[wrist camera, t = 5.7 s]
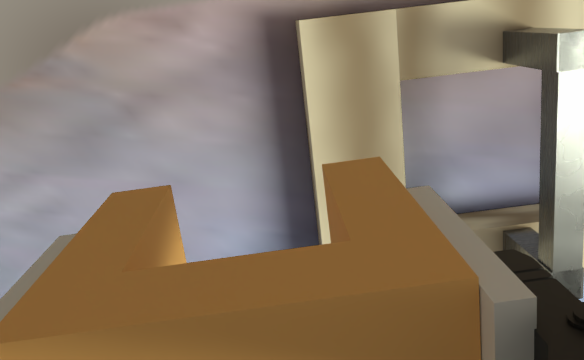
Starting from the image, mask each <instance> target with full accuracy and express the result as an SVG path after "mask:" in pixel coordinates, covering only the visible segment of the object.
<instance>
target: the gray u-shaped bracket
mask: <svg viewBox="0 0 584 360" xmlns="http://www.w3.org/2000/svg"><path fill="white" fill-rule="evenodd" d="M503 63H506V64H511V65H517V66H523V67H528V68H534V69H540V70H542V92H541V142H540V192H539V233H537V232H536V231H535V230H533V229H532V228H531V227H529V228H521V229H513V230H505V231H503V250H509V249H514V250H517V251H519V252H521V253H524V254H526V255H528V256H531V257H532V258H533V259H535V260H536V261H537V262H538V263H539V264H540V265H541V266H542V267H543V268H544V270H547V271H548V272H549V273H550V274H551V275H552V276H553V278H554V279H555V278H556V279H557V280H558V281H559V282H560V283H561V284H562V285H563V286H564V287H566V288H567V289H568V290H569V291H570V292H571V293H572V294H573V295H574V296H576V297H577V298H578V299H581V298H583V280H584V268H583V267H582V262H583V240H584V29H568V28H525V29H517V30H509V31H503Z"/></svg>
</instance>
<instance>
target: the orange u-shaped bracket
mask: <svg viewBox="0 0 584 360" xmlns="http://www.w3.org/2000/svg"><path fill="white" fill-rule="evenodd" d="M322 171H323V179H324V188H325V197H326V205H327V214H328V222H329V231H330V240H331V243H329V244H322V245H315V246H307V247H300V248H293V249H286V250H278V251H271V252H264V253H257V254H249V255H242V256H235V257H227V258H220V259H213V260H206V261H198V262H191V263H186V258H185V253H184V248H183V243H182V239H181V234H180V229H179V224H178V219H177V214H176V209H175V204H174V199H173V194H172V189H171V185H167V186H159V187H152V188H145V189H137V190H130V191H123V192H115V193H112V194H111V195H110V196H109V197H108V198H107V200H106V201H105V202H104V203H103V204H102V205H101V206H100V208H99V209H98V210H97V211H96V212H95V213H94V215H93V216H92V217H91V218H90V219H89V220H88V221H87V223H86V224H85V225H84V226H83V227H82V228H81V230H80V231H79V232H78V233H77V234H76V235H75V236H74V238H73V239H72V240H71V241H70V242H69V243H68V244H67V246H66V247H65V248H64V249H63V250H62V251H61V253H60V254H59V255H58V256H57V257H56V258H55V259H54V261H53V262H52V263H51V264H50V265H49V266H48V267H47V269H46V270H45V271H44V272H43V273H42V274H41V276H40V277H39V278H38V279H37V280H36V281H35V282H34V284H33V285H32V286H31V287H30V288H29V289H28V291H27V292H26V293H25V294H24V295H23V296H22V297H21V299H20V300H19V301H18V302H17V303H16V304H15V305H14V307H13V308H12V309H11V310H10V311H9V312H8V314H7V315H6V316H5V317H4V318H3V319H2V320H1V322H0V360H481V340H480V306H479V277H478V276H477V275H476V273H475V272H474V271H473V270H472V269H471V267H470V266H469V265H468V264H467V262H466V261H465V260H464V259H463V258H462V256H461V255H460V254H459V253H458V251H457V250H456V249H455V248H454V247H453V245H452V244H451V243H450V242H449V240H448V239H447V238H446V237H445V236H444V234H443V233H442V232H441V231H440V230H439V228H438V227H437V226H436V225H435V223H434V222H433V221H432V220H431V219H430V217H429V216H428V215H427V214H426V212H425V211H424V210H423V209H422V208H421V206H420V205H419V204H418V203H417V201H416V200H415V199H414V198H413V197H412V195H411V194H410V193H409V192H408V190H407V189H406V188H405V187H404V186H403V184H402V183H401V182H400V181H399V179H398V178H397V177H396V176H395V175H394V173H393V172H392V171H391V170H390V168H389V167H388V166H387V165H386V164H385V162H384V161H383V160H382V159H381V157H372V158H365V159H358V160H350V161H343V162H336V163H328V164H322Z"/></svg>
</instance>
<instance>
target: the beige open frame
mask: <svg viewBox="0 0 584 360" xmlns="http://www.w3.org/2000/svg"><path fill="white" fill-rule="evenodd" d="M295 21H296V31H297V40H298V50H299V59H300V68H301V78H302V87H303V97H304V106H305V115H306V125H307V134H308V144H309V153H310V162H311V172H312V181H313V191H314V200H315V209H316V219H317V228H318V238H319V245H322V244H329V243H331V240H330V231H329V222H328V214H327V205H326V197H325V188H324V179H323V171H322V164H328V163H336V162H343V161H350V160H358V159H365V158H372V157H381V159H382V160H383V161H384V162H385V164H386V165H387V166H388V167H389V168H390V170H391V171H392V172H393V173H394V175H395V176H396V177H397V178H398V179H399V181H400V182H401V183H402V184H403V186H404V187H405V188H406V184H405V166H404V148H403V129H402V111H401V93H400V81H401V80H409V79H417V78H426V77H434V76H442V75H450V74H459V73H467V72H475V71H483V70H492V69H500V68H508V67H516V66H517V65H511V64H506V63H503V31H509V30H517V29H525V28H568V29H584V0H465V1H457V2H448V3H440V4H431V5H423V6H414V7H406V8H397V9H389V10H380V11H372V12H363V13H355V14H346V15H338V16H329V17H321V18H312V19H304V20H295ZM457 215H458V216H459V217H460V218H461V219H462V220H463V221H464V222H465V223H466V224H467V225H468V226H469V228H470V229H471V230H472V231H473V232H474V233H475V234H476V235H477V236H478V237H479V238H480V239H481V240H482V241H483V242H484V243H485V244H486V245H487V246H488V247H489V248H490V249H491V250H492V251H493V252H495V251H502V250H503V231H505V230H513V229H521V228H529V227H531V228H532V229H533V230H535V231H536V232H537V233H539V204H533V205H525V206H517V207H509V208H501V209H493V210H486V211H478V212H470V213H462V214H457ZM582 267H583V268H584V240H583V262H582Z"/></svg>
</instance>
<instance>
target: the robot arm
mask: <svg viewBox="0 0 584 360" xmlns="http://www.w3.org/2000/svg"><path fill="white" fill-rule="evenodd" d="M407 190H408V192H409V193H410V194H411V195H412V197H413V198H414V199H415V200H416V201H417V203H418V204H419V205H420V206H421V208H422V209H423V210H424V211H425V212H426V214H427V215H428V216H429V217H430V219H431V220H432V221H433V222H434V223H435V225H436V226H437V227H438V228H439V230H440V231H441V232H442V233H443V234H444V236H445V237H446V238H447V239H448V240H449V242H450V243H451V244H452V245H453V247H454V248H455V249H456V250H457V251H458V253H459V254H460V255H461V256H462V258H463V259H464V260H465V261H466V262H467V264H468V265H469V266H470V267H471V269H472V270H473V271H474V272H475V273H476V275H477V276H478V277H479V306H480V340H481V360H584V302H581V301H580V300H579V299H578V298H577V297H576V296H574V295H573V294H572V293H571V292H570V291H569V290H568V289H567V288H566V287H564V286H563V285H562V284H561V283H560V282H559V281H558V280H557V279H556V278H555V279H554V278H553V276H552V275H551V274H550V273H549V272H548V271H547V270H544V268H543V267H542V266H541V265H540V264H539V263H538V262H537V261H536V260H535V259H533V258H532V257H531V256H528V255H526V254H524V253H521V252H519V251H517V250H514V249H509V250H502V251H495V252H493V251H492V250H491V249H490V248H489V247H488V246H487V245H486V244H485V243H484V242H483V241H482V240H481V239H480V238H479V237H478V236H477V235H476V234H475V233H474V232H473V231H472V230H471V229H470V228H469V226H468V225H467V224H466V223H465V222H464V221H463V220H462V219H461V218H460V217H459V216H458V215H457V214H456V213H455V212H454V211H453V210H452V209H451V208H450V207H449V206H448V205H447V204H446V203H445V202H444V201H443V200H442V199H441V197H440V196H439V195H438V194H437V193H436V192H435V191H434V190H433V189H432V188H431V187H430V186H422V187H415V188H407ZM75 235H76V234H71V235H64V236H59V237H58V238H57V239H56V240H55V242H54V243H53V244H52V245H51V246H50V247H49V248H48V249H47V250H46V251H45V252H44V253H43V254H42V255H41V257H40V258H39V259H38V260H37V261H36V262H35V263H34V264H33V265H32V266H31V267H30V268H29V269H28V270H27V271H26V273H25V274H24V275H23V276H22V277H21V278H20V279H19V280H18V281H17V282H16V283H15V284H14V285H13V286H12V287H11V289H10V290H9V291H8V292H7V293H6V294H5V295H4V296H3V297H2V298H1V299H0V322H1V320H2V319H3V318H4V317H5V316H6V315H7V314H8V312H9V311H10V310H11V309H12V308H13V307H14V305H15V304H16V303H17V302H18V301H19V300H20V299H21V297H22V296H23V295H24V294H25V293H26V292H27V291H28V289H29V288H30V287H31V286H32V285H33V284H34V282H35V281H36V280H37V279H38V278H39V277H40V276H41V274H42V273H43V272H44V271H45V270H46V269H47V267H48V266H49V265H50V264H51V263H52V262H53V261H54V259H55V258H56V257H57V256H58V255H59V254H60V253H61V251H62V250H63V249H64V248H65V247H66V246H67V244H68V243H69V242H70V241H71V240H72V239H73V238H74V236H75Z"/></svg>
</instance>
